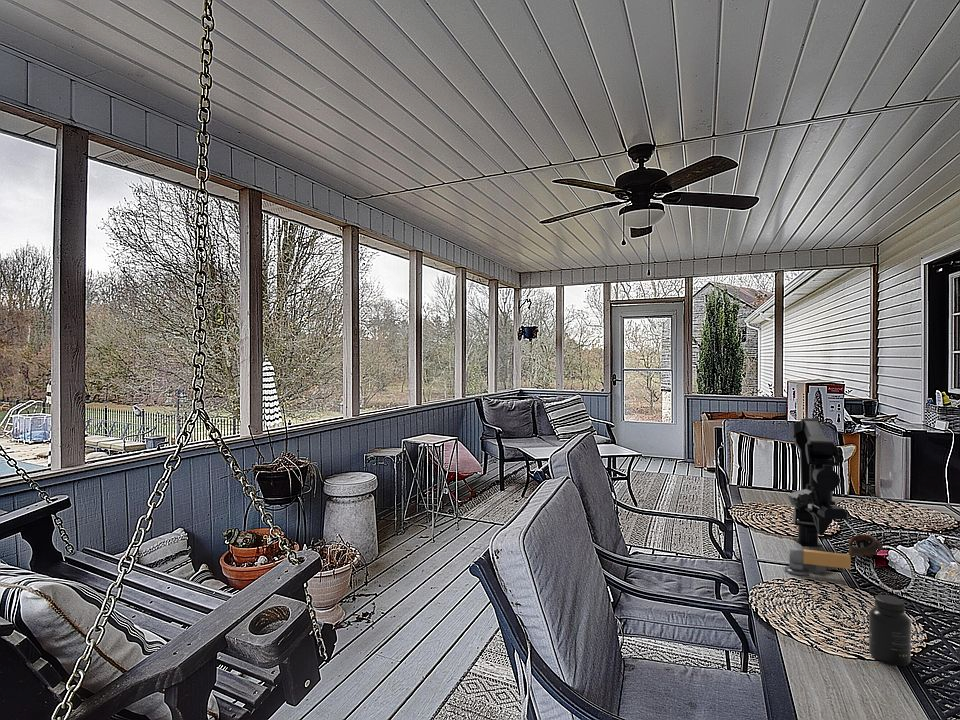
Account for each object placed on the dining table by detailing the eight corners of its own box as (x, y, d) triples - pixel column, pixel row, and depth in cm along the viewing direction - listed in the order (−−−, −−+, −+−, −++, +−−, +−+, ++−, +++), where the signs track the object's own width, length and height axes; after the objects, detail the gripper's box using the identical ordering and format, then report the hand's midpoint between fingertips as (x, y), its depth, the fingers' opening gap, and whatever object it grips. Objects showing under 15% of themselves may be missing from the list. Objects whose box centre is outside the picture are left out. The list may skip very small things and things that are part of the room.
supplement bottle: (860, 649, 114) (860, 592, 114) (890, 648, 115) (891, 591, 115) (887, 668, 107) (887, 607, 107) (919, 666, 108) (920, 606, 108)
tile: (792, 565, 161) (792, 556, 161) (802, 562, 163) (802, 554, 163) (816, 573, 155) (816, 564, 155) (826, 570, 157) (826, 561, 157)
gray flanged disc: (781, 567, 160) (781, 558, 160) (802, 568, 159) (802, 559, 159) (790, 575, 154) (790, 565, 154) (812, 576, 153) (812, 566, 153)
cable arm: (790, 562, 155) (790, 550, 155) (788, 558, 159) (788, 546, 159) (851, 570, 150) (851, 557, 150) (848, 565, 153) (848, 553, 153)
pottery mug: (897, 566, 161) (886, 543, 160) (864, 577, 163) (853, 554, 162) (874, 544, 172) (864, 522, 171) (844, 555, 175) (834, 533, 174)
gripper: (778, 475, 172) (778, 524, 172) (806, 488, 153) (806, 544, 153) (816, 476, 171) (816, 525, 170) (849, 490, 152) (849, 545, 152)
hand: (820, 534), depth 162 cm, fingers closed
